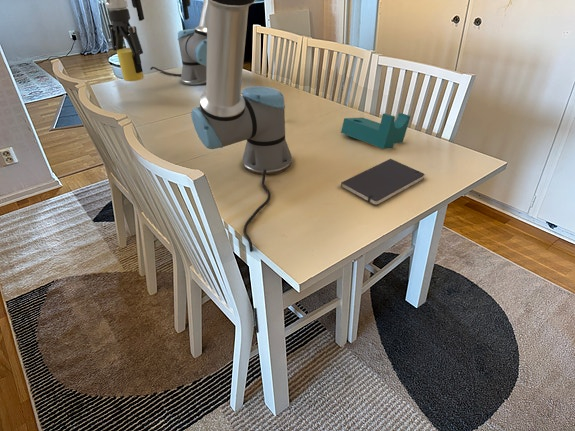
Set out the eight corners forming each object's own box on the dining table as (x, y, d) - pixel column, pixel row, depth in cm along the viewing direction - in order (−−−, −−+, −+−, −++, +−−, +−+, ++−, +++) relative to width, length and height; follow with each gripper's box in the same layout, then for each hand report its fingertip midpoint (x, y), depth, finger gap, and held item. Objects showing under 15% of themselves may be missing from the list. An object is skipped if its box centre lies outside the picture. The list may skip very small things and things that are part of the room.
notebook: (389, 163, 124) (340, 187, 113) (390, 158, 123) (341, 182, 112) (424, 178, 116) (375, 206, 105) (425, 174, 115) (376, 201, 104)
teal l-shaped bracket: (401, 146, 136) (410, 115, 131) (383, 149, 129) (392, 116, 124) (359, 131, 147) (366, 102, 142) (340, 132, 139) (347, 102, 135)
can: (144, 74, 170) (138, 46, 163) (142, 80, 164) (136, 51, 157) (125, 76, 169) (118, 48, 162) (122, 82, 162) (115, 53, 156)
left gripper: (91, 8, 153) (108, 69, 167) (127, 12, 144) (142, 76, 157) (108, 5, 159) (123, 65, 172) (144, 9, 149) (156, 72, 162)
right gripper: (197, -70, 110) (208, 16, 122) (107, -67, 111) (127, 17, 123) (191, -70, 104) (203, 20, 116) (96, -67, 105) (118, 22, 117)
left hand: (132, 70), depth 164 cm, fingers closed on can, 8 cm apart
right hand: (164, 19), depth 120 cm, fingers open, 13 cm apart
